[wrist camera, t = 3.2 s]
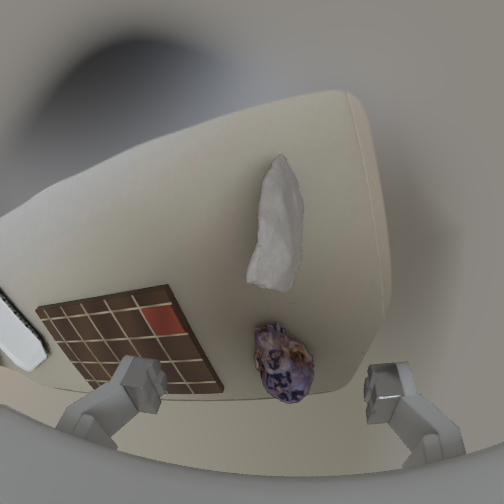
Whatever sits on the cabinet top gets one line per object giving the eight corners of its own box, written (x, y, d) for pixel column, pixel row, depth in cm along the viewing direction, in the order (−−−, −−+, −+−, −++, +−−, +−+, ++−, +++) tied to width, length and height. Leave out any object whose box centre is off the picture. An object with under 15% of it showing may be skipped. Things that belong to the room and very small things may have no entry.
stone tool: (313, 231, 31) (321, 337, 18) (282, 238, 32) (270, 345, 19) (288, 143, 27) (280, 193, 14) (254, 152, 28) (216, 210, 15)
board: (168, 283, 37) (164, 290, 36) (224, 387, 45) (222, 394, 44) (38, 306, 44) (34, 311, 43) (96, 385, 52) (93, 390, 51)
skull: (240, 322, 38) (239, 360, 32) (302, 308, 37) (310, 345, 31) (263, 379, 43) (265, 413, 38) (315, 368, 42) (322, 402, 37)
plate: (-26, 307, 50) (-31, 312, 48) (-13, 267, 42) (-20, 273, 40) (31, 369, 57) (26, 375, 55) (57, 346, 49) (51, 354, 47)
